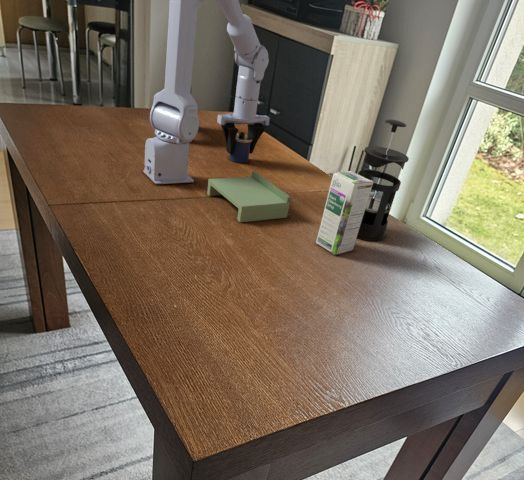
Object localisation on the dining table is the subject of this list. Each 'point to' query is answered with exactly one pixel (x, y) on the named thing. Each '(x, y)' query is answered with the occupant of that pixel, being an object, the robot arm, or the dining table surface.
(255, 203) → the shelf
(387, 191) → the french press
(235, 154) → the pot
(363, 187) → the syrup box
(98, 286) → the dining table surface
